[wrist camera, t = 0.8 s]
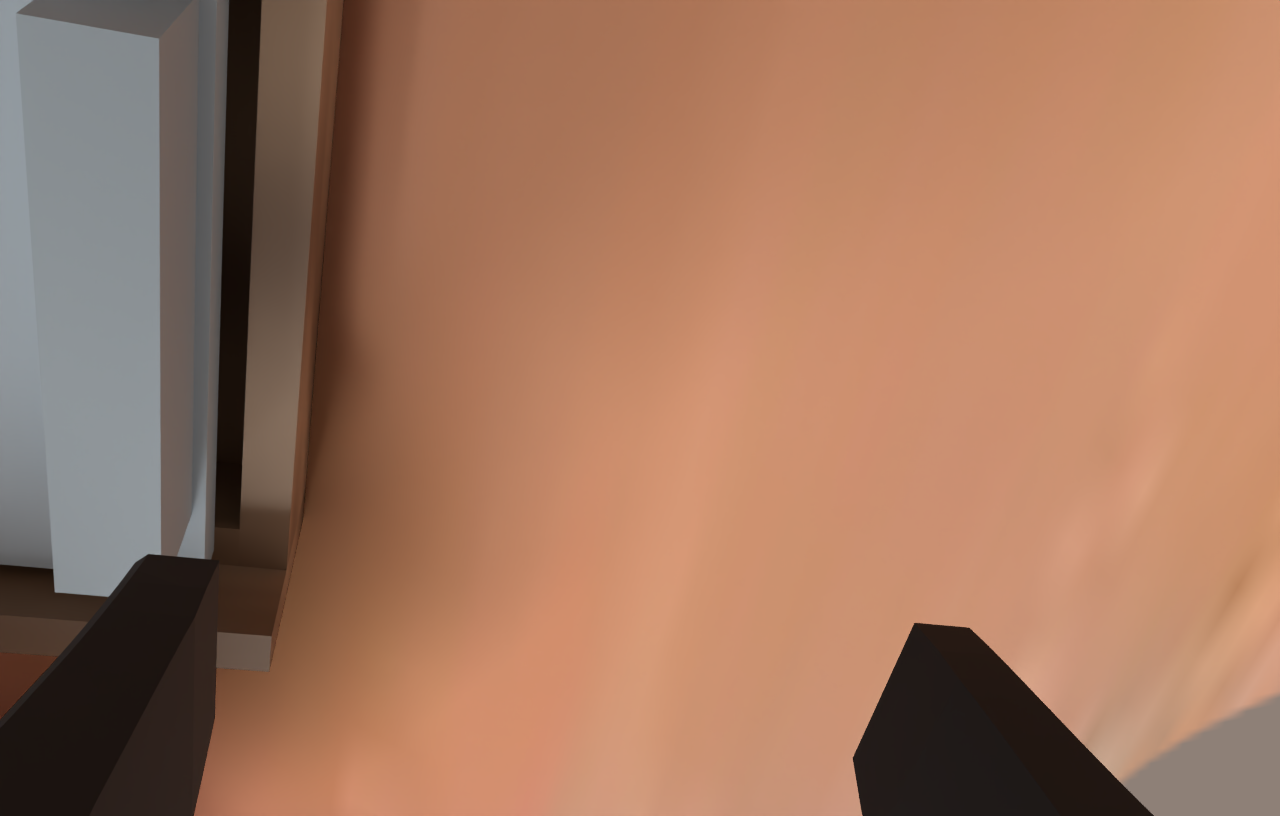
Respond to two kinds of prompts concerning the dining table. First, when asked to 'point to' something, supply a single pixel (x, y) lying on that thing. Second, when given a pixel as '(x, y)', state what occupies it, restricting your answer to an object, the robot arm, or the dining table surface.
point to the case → (247, 334)
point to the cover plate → (109, 282)
